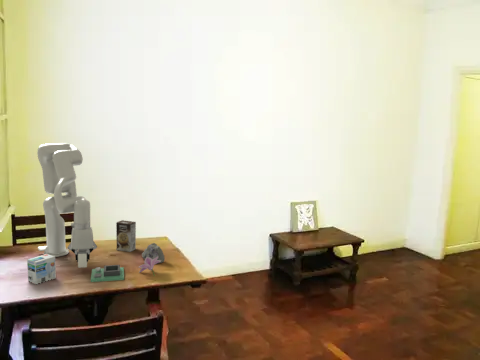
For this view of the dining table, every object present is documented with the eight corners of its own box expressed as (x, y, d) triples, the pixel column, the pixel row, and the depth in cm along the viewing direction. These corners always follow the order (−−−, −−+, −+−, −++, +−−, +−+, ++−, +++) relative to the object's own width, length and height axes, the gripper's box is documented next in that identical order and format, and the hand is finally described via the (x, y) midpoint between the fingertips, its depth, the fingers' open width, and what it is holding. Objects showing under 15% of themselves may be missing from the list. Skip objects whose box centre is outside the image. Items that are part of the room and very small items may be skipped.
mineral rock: (141, 257, 256) (140, 239, 254) (160, 255, 259) (160, 238, 258) (145, 265, 244) (144, 246, 242) (165, 263, 247) (165, 245, 246)
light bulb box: (36, 285, 215) (35, 262, 213) (27, 281, 218) (26, 259, 216) (56, 278, 224) (55, 256, 222) (47, 274, 227) (46, 253, 225)
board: (90, 282, 220) (90, 274, 219) (92, 271, 233) (92, 264, 232) (124, 279, 224) (123, 272, 223) (123, 269, 237) (123, 262, 236)
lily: (165, 272, 238) (158, 254, 239) (165, 271, 226) (158, 252, 228) (142, 281, 235) (135, 263, 237) (141, 280, 224) (134, 261, 225)
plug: (78, 267, 230) (77, 252, 229) (78, 263, 235) (78, 248, 234) (86, 267, 231) (86, 251, 230) (87, 263, 236) (87, 248, 235)
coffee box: (116, 250, 266) (115, 222, 263) (122, 246, 272) (121, 219, 270) (130, 252, 264) (130, 224, 261) (136, 248, 270) (136, 221, 267)
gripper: (63, 228, 224) (63, 264, 227) (99, 227, 228) (100, 263, 232) (64, 223, 231) (65, 259, 234) (100, 222, 235) (100, 257, 239)
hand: (82, 260), depth 233 cm, fingers closed on plug, 3 cm apart
